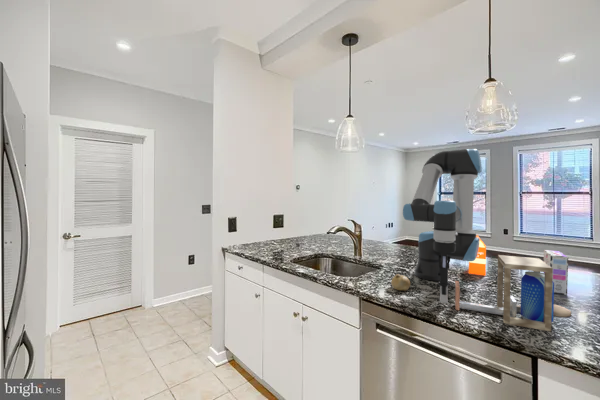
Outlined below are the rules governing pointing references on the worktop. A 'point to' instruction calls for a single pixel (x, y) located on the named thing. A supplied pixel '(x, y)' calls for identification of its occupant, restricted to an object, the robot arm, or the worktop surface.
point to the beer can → (534, 296)
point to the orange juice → (479, 261)
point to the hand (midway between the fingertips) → (443, 301)
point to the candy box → (558, 270)
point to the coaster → (561, 311)
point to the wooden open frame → (509, 264)
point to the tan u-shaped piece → (483, 307)
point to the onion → (400, 282)
